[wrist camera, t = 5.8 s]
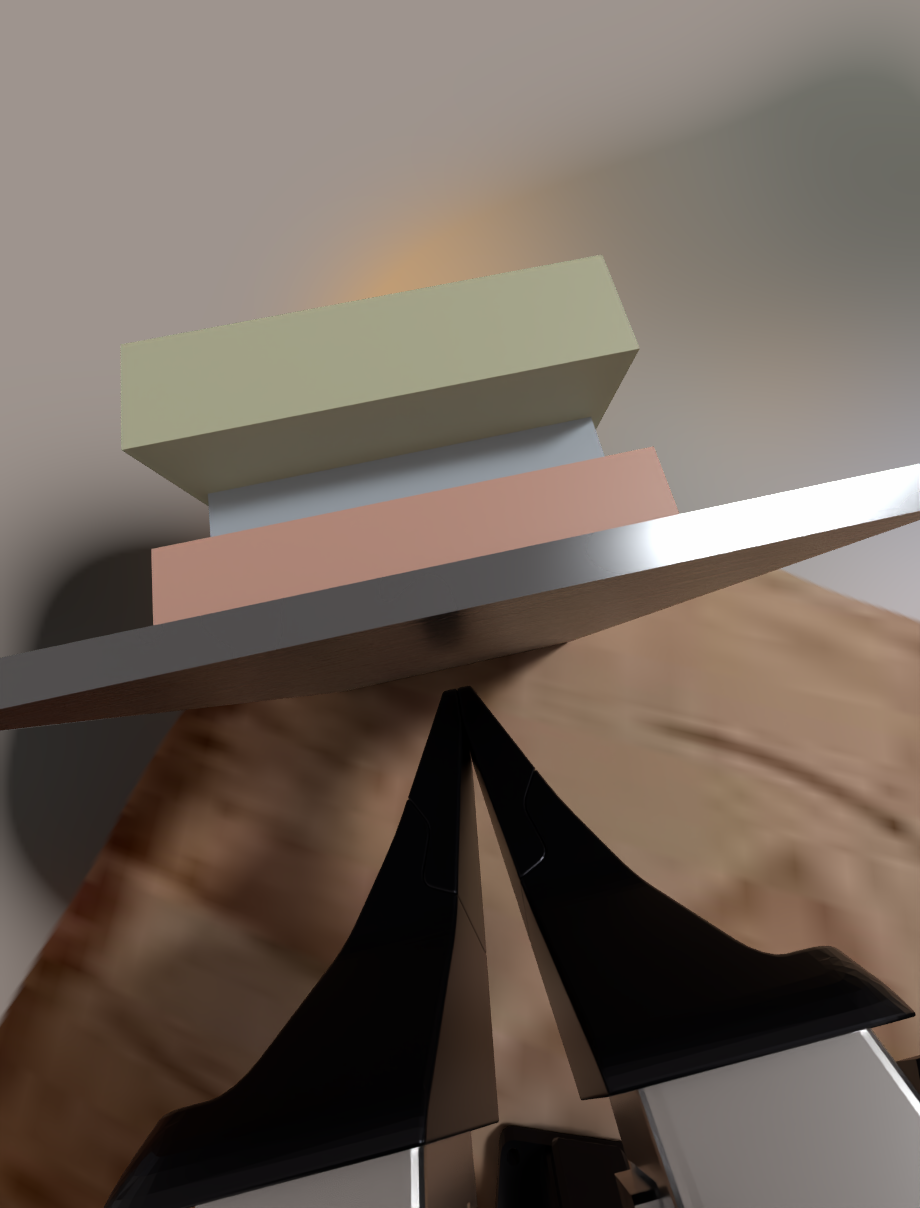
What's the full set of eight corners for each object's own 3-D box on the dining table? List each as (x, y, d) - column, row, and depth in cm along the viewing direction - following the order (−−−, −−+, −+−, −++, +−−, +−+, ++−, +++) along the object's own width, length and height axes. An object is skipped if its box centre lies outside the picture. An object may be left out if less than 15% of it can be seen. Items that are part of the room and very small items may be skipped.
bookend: (570, 641, 17) (988, 495, 3) (341, 691, 17) (-214, 755, 3) (567, 631, 17) (963, 454, 4) (340, 681, 17) (-202, 700, 3)
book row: (538, 632, 17) (714, 536, 5) (368, 669, 17) (123, 663, 5) (511, 531, 18) (602, 254, 6) (352, 565, 18) (120, 344, 6)
